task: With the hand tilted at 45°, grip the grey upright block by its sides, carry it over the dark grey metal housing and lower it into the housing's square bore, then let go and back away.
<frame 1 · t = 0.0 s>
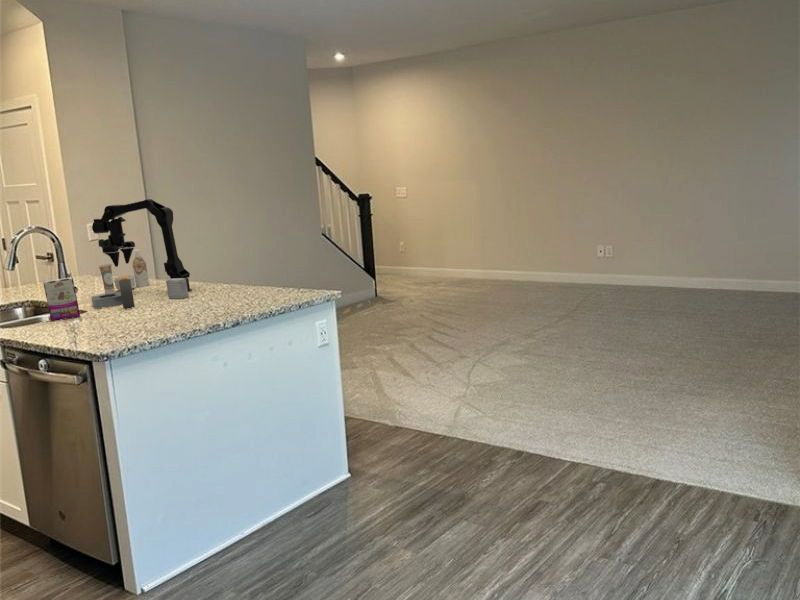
hand: (122, 265, 327), 15 cm above the countertop, tool pointing down, fingers open, 9 cm apart
medicine box: (178, 298, 311), on the countertop
candy bar box: (65, 318, 287), on the countertop
housing: (109, 304, 309), on the countertop
grey upright block: (129, 307, 298), on the countertop
cosmetic set: (126, 290, 347), on the countertop
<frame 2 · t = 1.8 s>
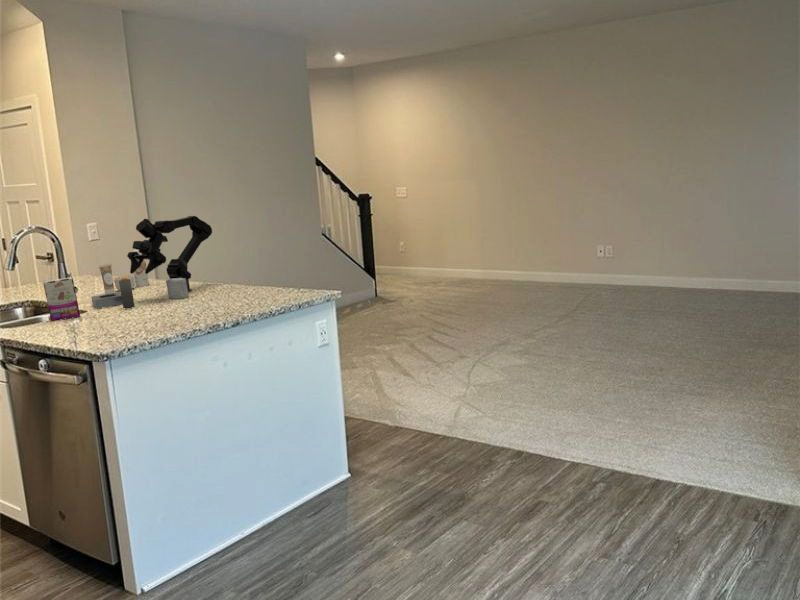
hand: (138, 273, 302), 13 cm above the countertop, tool tilted 45°, fingers open, 9 cm apart
nothing on the countertop moved.
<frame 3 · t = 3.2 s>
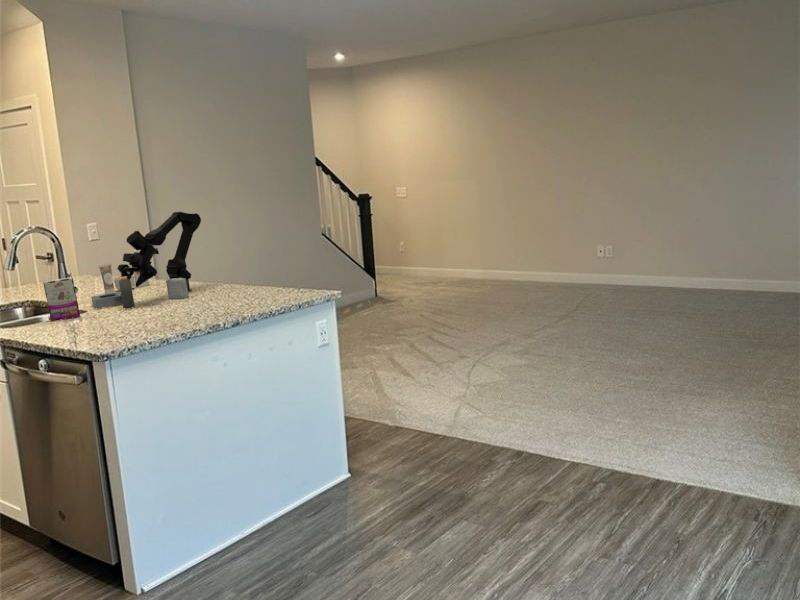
hand: (128, 286, 297), 9 cm above the countertop, tool tilted 45°, fingers open, 9 cm apart
nothing on the countertop moved.
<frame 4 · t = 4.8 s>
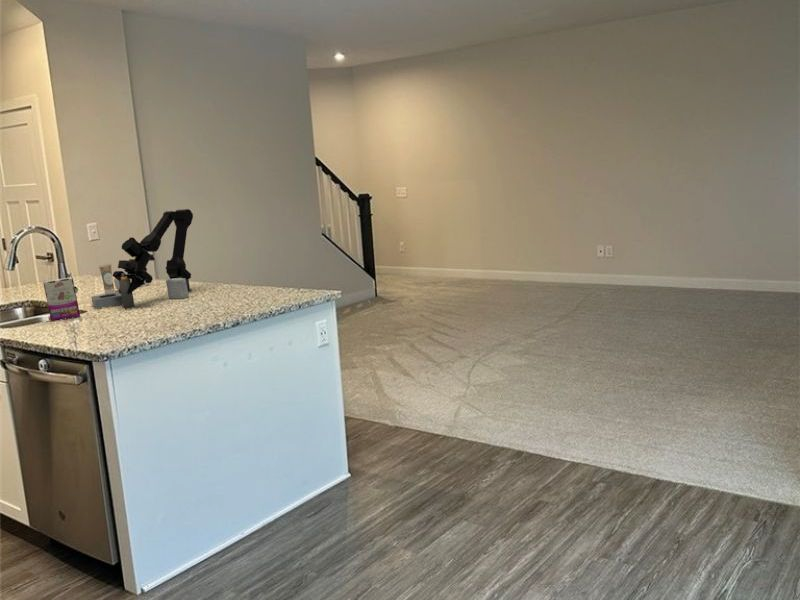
hand: (123, 293, 295), 7 cm above the countertop, tool tilted 45°, fingers closed on grey upright block, 5 cm apart
grey upright block: (129, 307, 298), on the countertop, touching gripper
everything else where it was.
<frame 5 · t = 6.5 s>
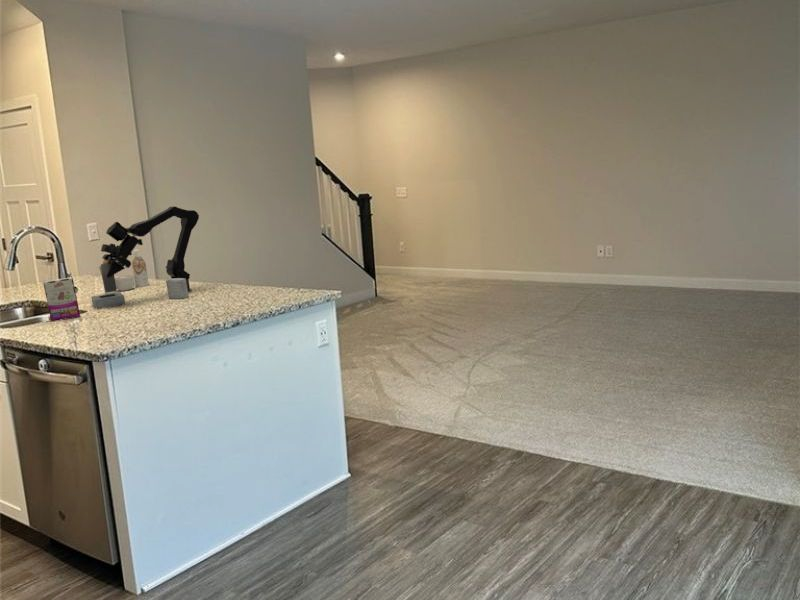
hand: (105, 276, 300), 13 cm above the countertop, tool tilted 45°, fingers closed on grey upright block, 5 cm apart
grey upright block: (111, 290, 303), point 7 cm above the countertop, touching gripper
everything else where it was.
when the fingers open (8 cm above the countertop, at t = 8.4 s): grey upright block drops 2 cm, resting in housing.
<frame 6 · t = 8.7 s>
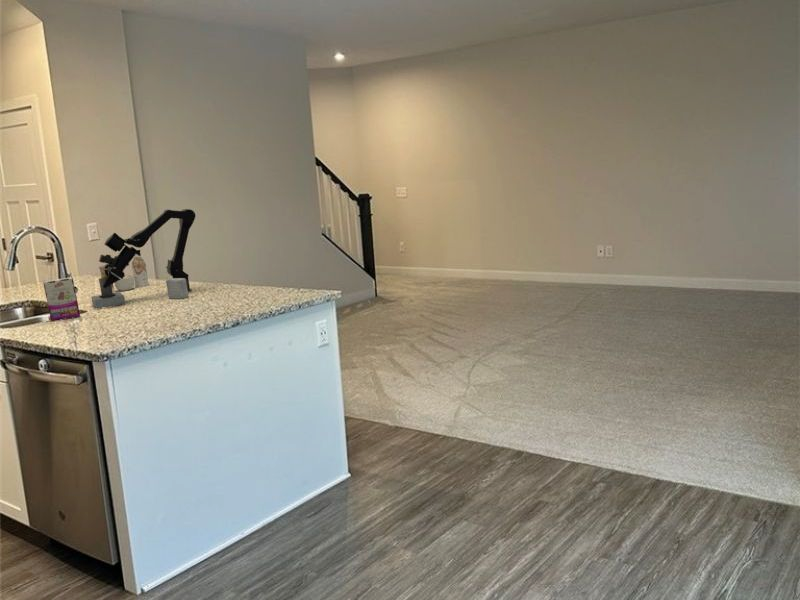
hand: (102, 286, 307), 9 cm above the countertop, tool tilted 45°, fingers open, 7 cm apart
grey upright block: (109, 304, 309), resting in housing
everything else where it was.
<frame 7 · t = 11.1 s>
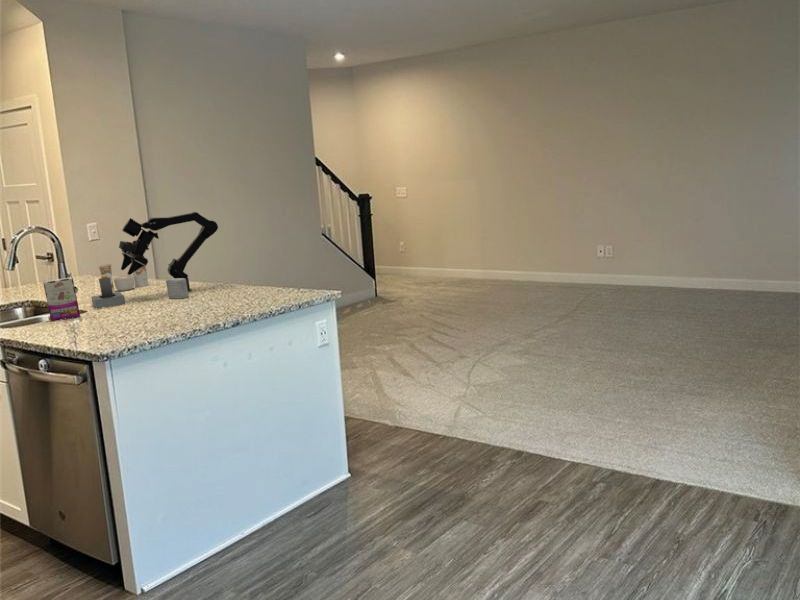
hand: (125, 272, 313), 13 cm above the countertop, tool tilted 40°, fingers open, 9 cm apart
nothing on the countertop moved.
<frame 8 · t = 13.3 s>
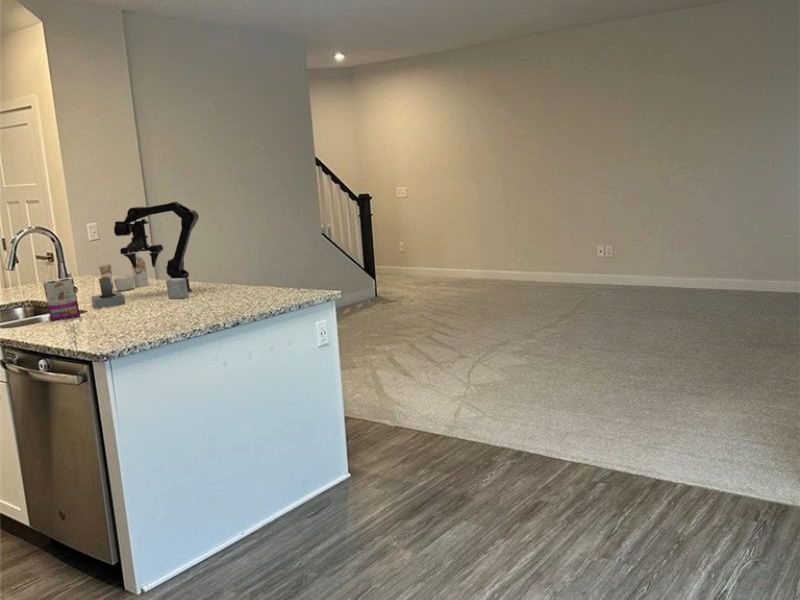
hand: (144, 267, 323), 13 cm above the countertop, tool pointing down, fingers open, 9 cm apart
nothing on the countertop moved.
at the end: grey upright block 0.0 cm off-centre on the housing, point 0.0 cm above the housing's base; grey upright block tilted 0°; the gripper is holding nothing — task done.
